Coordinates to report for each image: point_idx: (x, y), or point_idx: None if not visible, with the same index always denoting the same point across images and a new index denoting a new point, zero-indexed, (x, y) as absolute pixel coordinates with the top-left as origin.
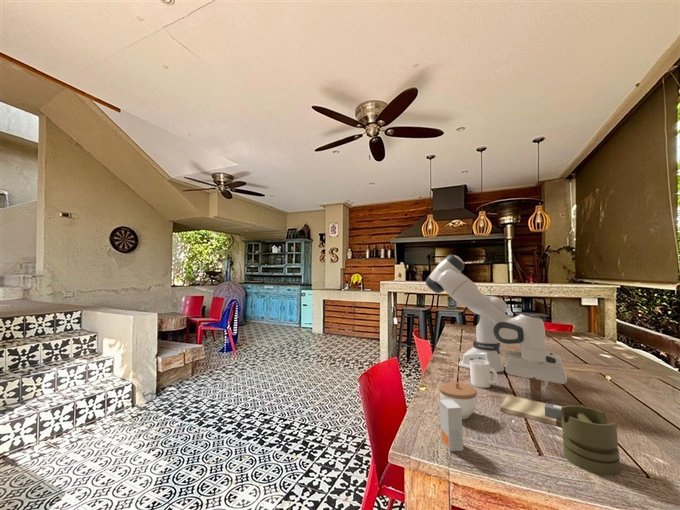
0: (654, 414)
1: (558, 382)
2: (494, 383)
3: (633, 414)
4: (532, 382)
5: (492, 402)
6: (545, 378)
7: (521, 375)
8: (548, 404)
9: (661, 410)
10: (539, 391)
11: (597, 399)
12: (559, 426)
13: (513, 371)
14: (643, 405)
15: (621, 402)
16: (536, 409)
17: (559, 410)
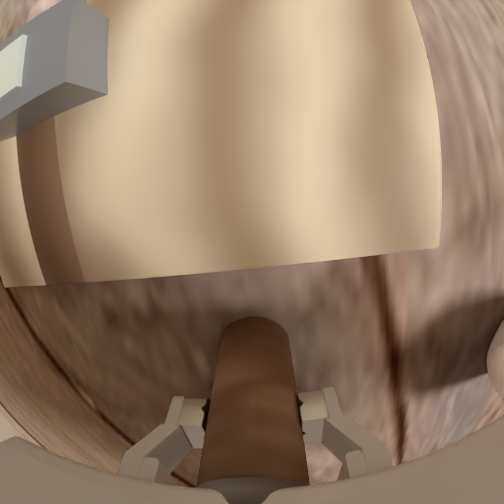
0: (5, 405)
1: (34, 450)
2: (494, 352)
3: (8, 388)
4: (272, 445)
5: (471, 98)
6: (115, 497)
7: (408, 473)
8: (49, 66)
9: (19, 430)
10: (217, 388)
11: (102, 456)
12: None
13: (494, 461)
14: (43, 445)
15: (67, 451)
16: (175, 70)
17: (4, 42)
